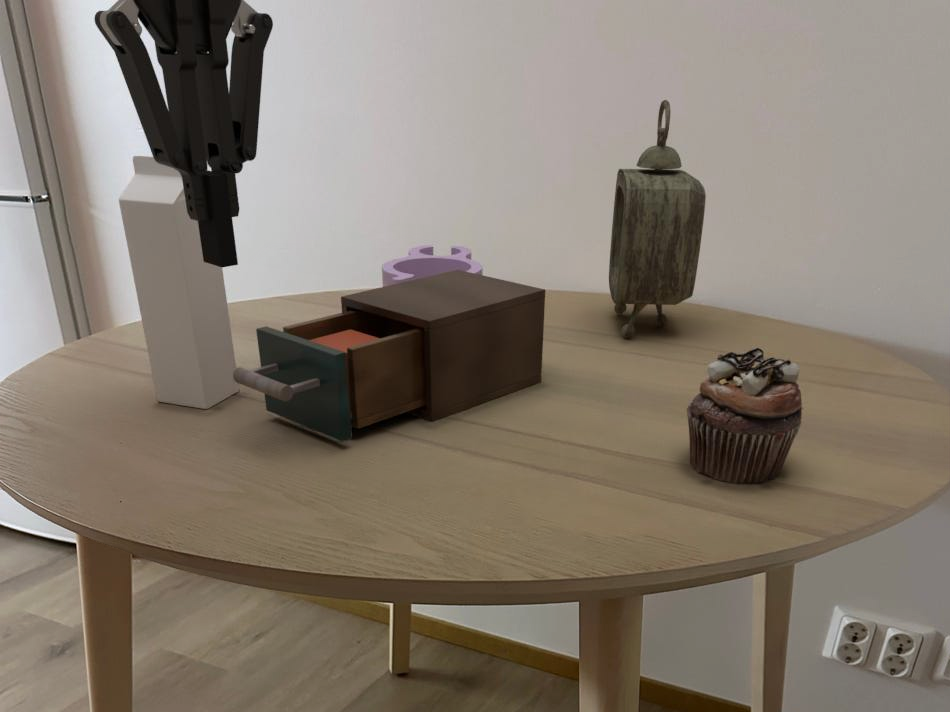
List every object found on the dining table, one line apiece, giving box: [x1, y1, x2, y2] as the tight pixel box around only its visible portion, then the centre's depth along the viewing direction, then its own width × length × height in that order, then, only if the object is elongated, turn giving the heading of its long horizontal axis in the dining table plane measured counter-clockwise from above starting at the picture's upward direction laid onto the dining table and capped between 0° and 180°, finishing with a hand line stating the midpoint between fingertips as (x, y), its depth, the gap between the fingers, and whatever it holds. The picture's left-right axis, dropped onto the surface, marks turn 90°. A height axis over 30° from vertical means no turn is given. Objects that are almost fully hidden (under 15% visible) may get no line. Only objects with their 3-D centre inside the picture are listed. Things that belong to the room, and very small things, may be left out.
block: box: [309, 329, 380, 412], centre depth 88 cm, size 6×6×6 cm
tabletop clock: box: [608, 99, 707, 339], centre depth 111 cm, size 14×9×25 cm, turn 178°
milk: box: [118, 155, 240, 410], centre depth 89 cm, size 6×6×22 cm
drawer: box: [233, 309, 426, 442], centre depth 87 cm, size 20×11×8 cm, turn 137°
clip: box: [381, 244, 483, 287], centre depth 118 cm, size 20×12×7 cm, turn 176°
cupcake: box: [686, 347, 804, 485], centre depth 79 cm, size 10×10×10 cm
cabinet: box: [340, 270, 546, 422], centre depth 95 cm, size 17×13×10 cm
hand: (220, 263), depth 74 cm, fingers closed
